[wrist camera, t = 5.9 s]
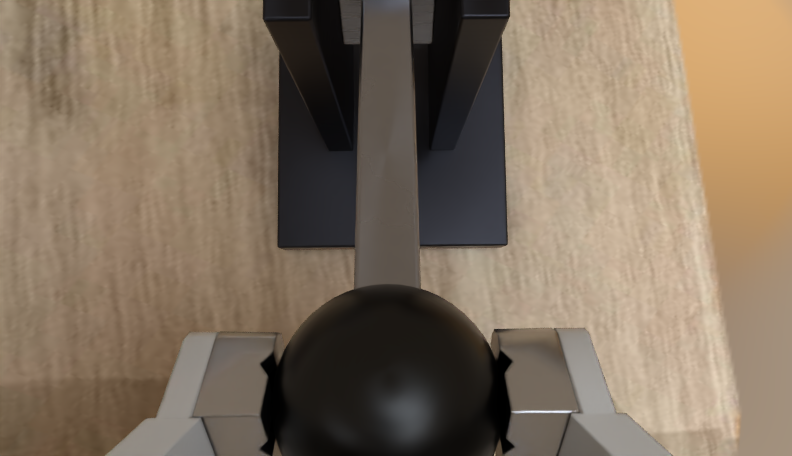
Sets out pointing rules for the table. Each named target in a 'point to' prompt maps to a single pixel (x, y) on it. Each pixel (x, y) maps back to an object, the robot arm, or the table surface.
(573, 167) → the table surface
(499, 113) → the switch bracket
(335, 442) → the lever
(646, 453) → the robot arm
